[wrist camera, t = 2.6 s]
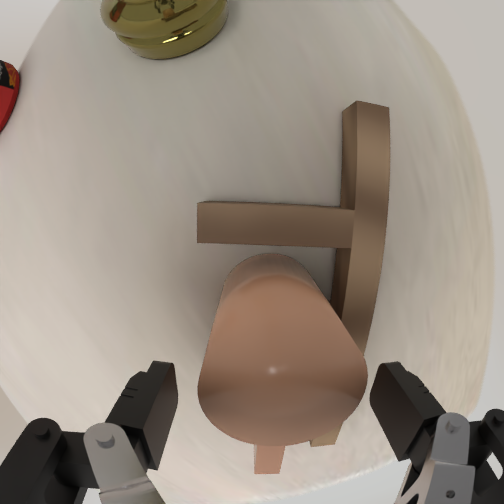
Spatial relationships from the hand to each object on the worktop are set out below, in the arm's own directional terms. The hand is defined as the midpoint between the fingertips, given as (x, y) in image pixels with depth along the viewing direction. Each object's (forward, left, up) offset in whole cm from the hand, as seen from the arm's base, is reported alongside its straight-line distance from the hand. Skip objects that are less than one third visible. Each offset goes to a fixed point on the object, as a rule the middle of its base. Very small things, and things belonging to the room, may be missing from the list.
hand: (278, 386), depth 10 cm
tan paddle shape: (+2, 0, -8) cm, 8 cm away
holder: (0, 0, -8) cm, 8 cm away
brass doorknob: (-19, -7, -8) cm, 22 cm away
